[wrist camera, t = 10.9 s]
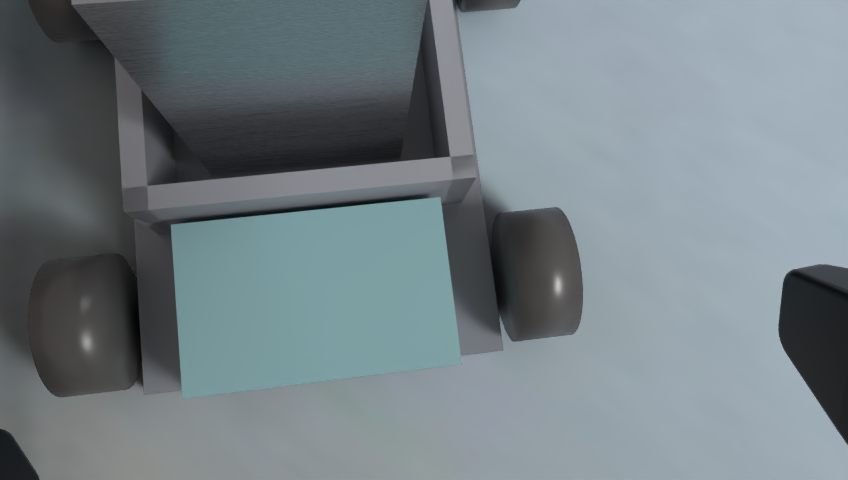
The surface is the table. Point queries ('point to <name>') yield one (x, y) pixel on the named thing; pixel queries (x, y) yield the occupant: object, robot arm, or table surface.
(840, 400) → the robot arm
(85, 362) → the chassis
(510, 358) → the table surface
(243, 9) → the block
